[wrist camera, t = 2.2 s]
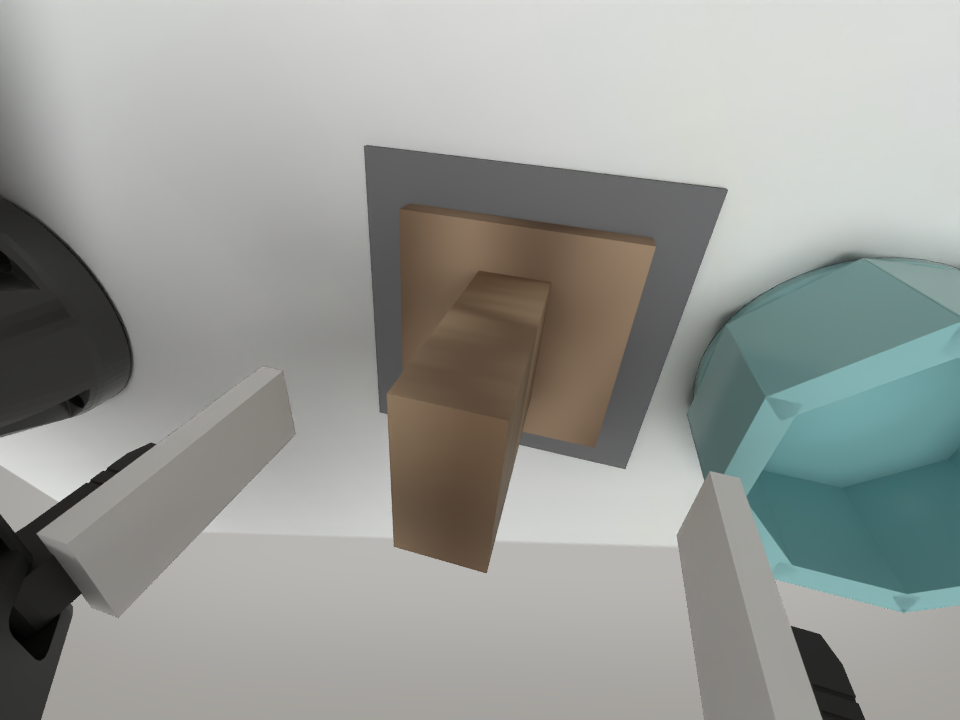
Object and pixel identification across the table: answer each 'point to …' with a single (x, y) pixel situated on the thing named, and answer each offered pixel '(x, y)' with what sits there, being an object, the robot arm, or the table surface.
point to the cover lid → (498, 361)
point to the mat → (558, 200)
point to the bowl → (845, 428)
